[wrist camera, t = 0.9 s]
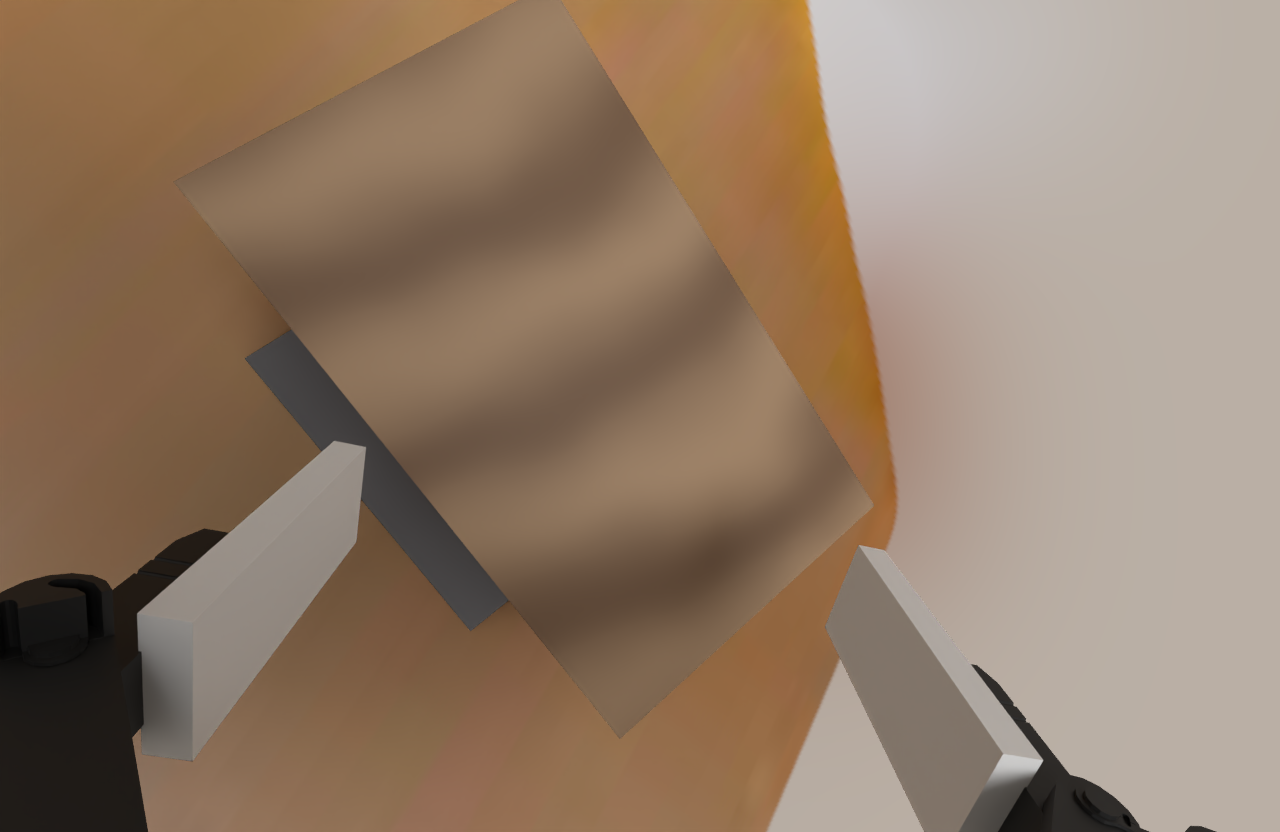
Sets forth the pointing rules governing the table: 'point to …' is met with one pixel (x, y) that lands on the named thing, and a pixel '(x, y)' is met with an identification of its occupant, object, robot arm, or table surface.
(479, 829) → the table surface
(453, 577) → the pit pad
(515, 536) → the tunnel
